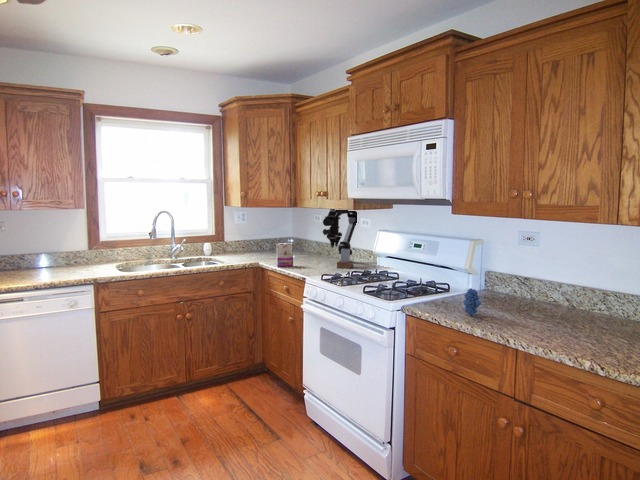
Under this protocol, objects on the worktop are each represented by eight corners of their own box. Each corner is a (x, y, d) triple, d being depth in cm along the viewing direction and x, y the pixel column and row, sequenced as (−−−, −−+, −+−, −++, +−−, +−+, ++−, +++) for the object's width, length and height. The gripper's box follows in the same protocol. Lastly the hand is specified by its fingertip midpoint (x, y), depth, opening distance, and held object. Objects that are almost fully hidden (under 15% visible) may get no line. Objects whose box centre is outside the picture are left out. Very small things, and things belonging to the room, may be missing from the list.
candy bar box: (291, 265, 318) (291, 242, 317) (293, 266, 314) (293, 243, 312) (276, 266, 315) (276, 243, 314) (277, 267, 311) (277, 243, 309)
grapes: (474, 320, 183) (475, 291, 182) (458, 316, 188) (460, 289, 187) (486, 315, 191) (487, 287, 190) (471, 312, 196) (472, 285, 195)
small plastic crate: (342, 265, 316) (343, 248, 314) (349, 265, 314) (349, 248, 313) (340, 266, 311) (341, 249, 310) (347, 266, 309) (347, 249, 308)
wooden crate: (340, 266, 318) (340, 260, 318) (353, 266, 315) (353, 261, 315) (336, 268, 310) (336, 262, 309) (349, 268, 306) (349, 263, 306)
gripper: (328, 224, 334) (327, 245, 335) (319, 225, 316) (319, 247, 318) (342, 224, 330) (342, 245, 332) (334, 226, 312) (334, 248, 314)
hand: (334, 246), depth 324 cm, fingers open, 9 cm apart
